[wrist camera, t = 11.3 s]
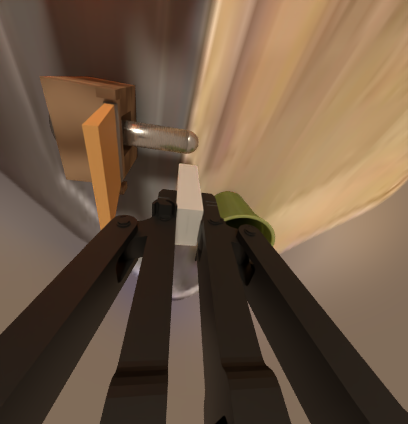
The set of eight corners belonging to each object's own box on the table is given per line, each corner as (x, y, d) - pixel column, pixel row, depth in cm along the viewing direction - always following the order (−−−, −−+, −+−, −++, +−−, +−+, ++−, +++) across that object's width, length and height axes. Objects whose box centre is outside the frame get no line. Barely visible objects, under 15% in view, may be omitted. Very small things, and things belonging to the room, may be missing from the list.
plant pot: (224, 167, 34) (239, 200, 25) (265, 201, 39) (290, 240, 30) (184, 210, 39) (184, 252, 30) (225, 236, 44) (236, 278, 35)
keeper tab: (77, 124, 11) (101, 126, 11) (104, 100, 18) (118, 102, 18) (98, 232, 15) (115, 231, 15) (112, 178, 22) (123, 178, 23)
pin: (68, 97, 24) (43, 101, 20) (200, 119, 27) (202, 127, 22) (77, 139, 27) (56, 151, 23) (194, 156, 29) (196, 169, 25)
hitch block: (87, 74, 25) (24, 73, 15) (141, 84, 26) (115, 89, 16) (98, 152, 31) (58, 188, 21) (142, 158, 32) (123, 194, 22)
